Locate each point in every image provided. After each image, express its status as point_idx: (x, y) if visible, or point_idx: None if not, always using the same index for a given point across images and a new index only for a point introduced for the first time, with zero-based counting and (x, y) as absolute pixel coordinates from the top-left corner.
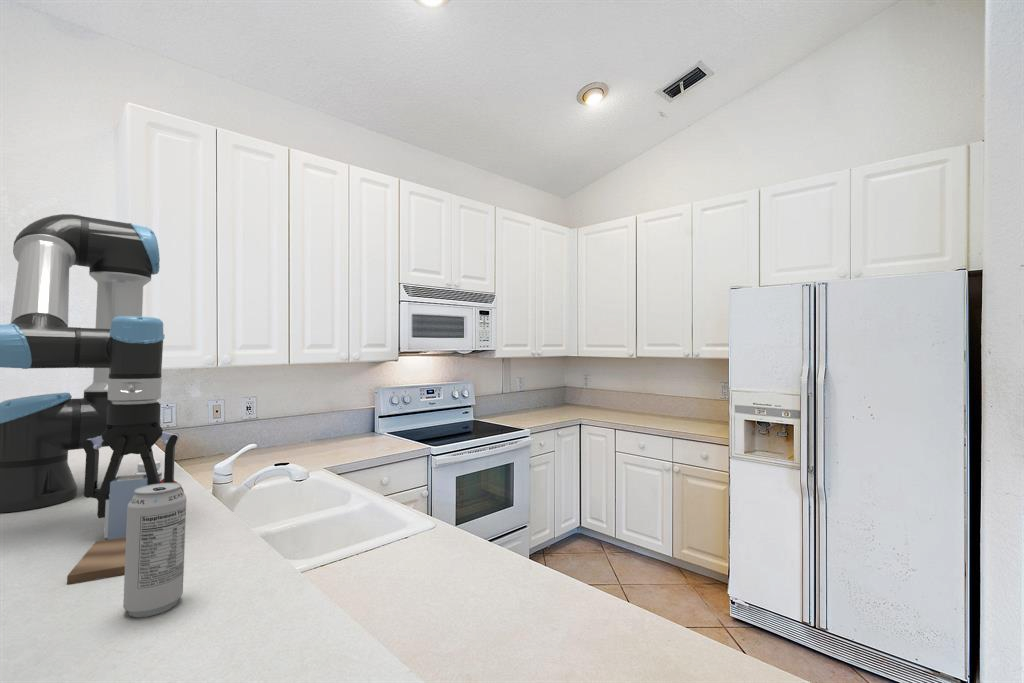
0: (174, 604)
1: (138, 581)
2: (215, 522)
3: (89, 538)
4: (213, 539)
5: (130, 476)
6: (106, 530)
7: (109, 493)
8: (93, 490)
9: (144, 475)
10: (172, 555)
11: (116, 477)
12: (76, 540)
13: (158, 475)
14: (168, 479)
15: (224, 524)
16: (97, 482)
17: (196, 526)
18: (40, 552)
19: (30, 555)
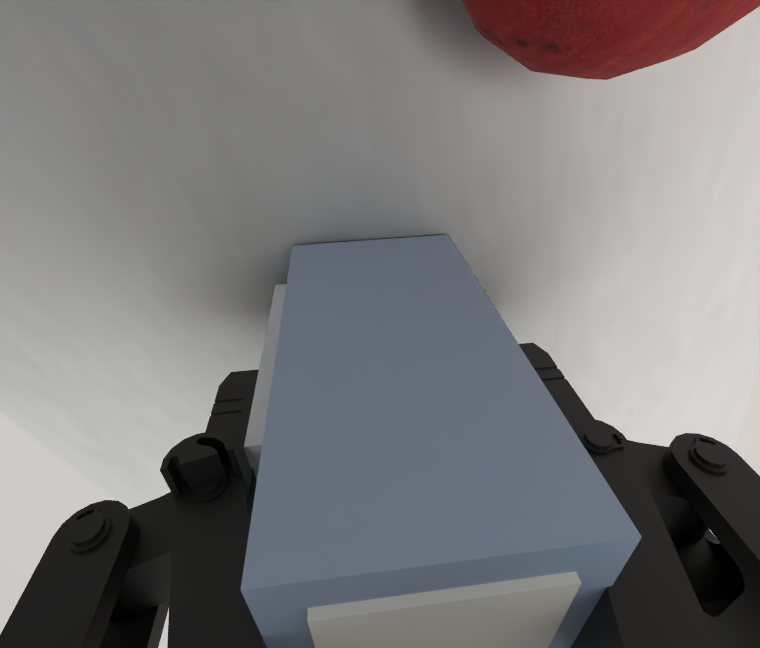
0: None
1: None
2: (720, 267)
3: (200, 284)
4: (640, 442)
5: (422, 642)
6: None
7: (248, 493)
8: (163, 622)
9: (555, 629)
10: None
11: (260, 621)
12: (148, 291)
13: (678, 562)
14: (705, 585)
15: (734, 311)
16: (89, 617)
17: (637, 293)
18: (87, 388)
19: (71, 406)
